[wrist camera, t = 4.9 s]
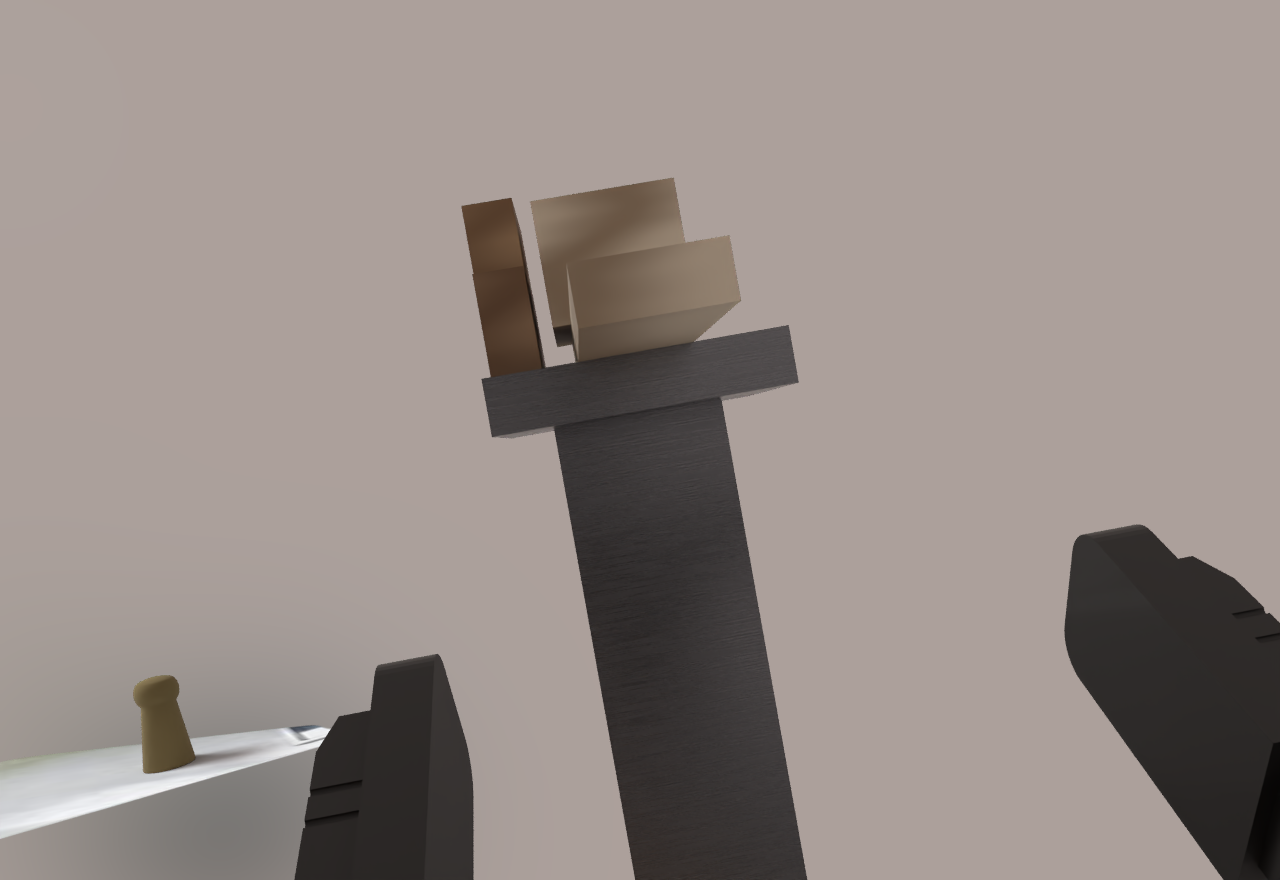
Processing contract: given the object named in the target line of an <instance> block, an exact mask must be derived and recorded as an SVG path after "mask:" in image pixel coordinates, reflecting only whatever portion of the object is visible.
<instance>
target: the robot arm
mask: <svg viewBox="0 0 1280 880" xmlns="http://www.w3.org/2000/svg"><path fill="white" fill-rule="evenodd" d="M1064 631H1065V641H1066V647H1067V651H1068V655H1069V658H1070V661H1071V663H1072V666H1073V668H1074V670H1075V672H1076V674H1077V676H1078V677H1079V679H1080V680H1081V682H1082V683H1083V684H1084V686H1085V687H1086V688H1087V690H1088V691H1089V693H1090V694H1091V695H1092V697H1093V698H1094V700H1095V701H1096V703H1097V704H1098V705H1099V707H1100V708H1101V709H1102V711H1103V712H1104V714H1105V715H1106V716H1107V718H1108V719H1109V721H1110V722H1111V723H1112V725H1113V726H1114V728H1115V729H1116V730H1117V732H1118V733H1119V734H1120V736H1121V737H1122V739H1123V740H1124V742H1125V743H1126V744H1127V746H1128V747H1129V749H1130V750H1131V751H1132V753H1133V754H1134V756H1135V757H1136V758H1137V760H1138V761H1139V762H1140V764H1141V765H1142V766H1143V768H1144V769H1145V771H1146V772H1147V774H1148V775H1149V777H1150V778H1151V779H1152V781H1153V782H1154V784H1155V785H1156V786H1157V788H1158V789H1159V791H1160V792H1161V793H1162V795H1163V796H1164V797H1165V799H1166V800H1167V802H1168V803H1169V804H1170V806H1171V807H1172V808H1173V810H1174V811H1175V813H1176V814H1177V816H1178V817H1179V818H1180V820H1181V821H1182V823H1183V824H1184V825H1185V827H1186V828H1187V830H1188V831H1189V832H1190V834H1191V835H1192V836H1193V838H1194V839H1195V841H1196V842H1197V844H1198V845H1199V846H1200V848H1201V849H1202V850H1203V852H1204V853H1205V855H1206V856H1207V857H1208V859H1209V860H1210V862H1211V863H1212V864H1213V866H1214V867H1215V869H1216V870H1217V871H1218V873H1219V874H1220V876H1221V877H1222V878H1223V880H1280V623H1279V622H1278V621H1277V620H1276V619H1275V618H1274V617H1273V616H1272V615H1271V614H1270V613H1268V614H1266V613H1265V611H1264V607H1263V606H1262V605H1261V604H1260V603H1259V602H1258V601H1257V600H1256V599H1255V598H1254V597H1253V596H1252V595H1251V594H1250V593H1249V592H1248V591H1247V590H1246V589H1245V588H1244V587H1243V586H1241V584H1240V583H1239V582H1237V581H1236V580H1235V579H1234V578H1233V577H1231V576H1229V575H1227V574H1225V573H1223V572H1221V571H1219V570H1218V569H1216V568H1214V567H1212V566H1210V565H1208V564H1206V563H1204V562H1202V561H1201V560H1199V559H1197V558H1195V557H1193V556H1191V557H1185V558H1180V559H1178V558H1177V557H1176V556H1175V555H1174V554H1173V553H1172V552H1171V551H1170V550H1169V549H1168V548H1167V547H1166V546H1165V545H1164V544H1163V543H1162V542H1161V541H1160V540H1159V539H1158V538H1157V537H1156V536H1155V535H1154V534H1153V532H1151V531H1150V530H1149V529H1148V528H1147V527H1145V526H1143V525H1132V526H1127V527H1121V528H1116V529H1111V530H1105V531H1100V532H1094V533H1090V534H1085V535H1081V536H1079V537H1078V538H1077V539H1076V541H1075V543H1074V546H1073V551H1072V562H1071V571H1070V581H1069V589H1068V599H1067V608H1066V618H1065V630H1064ZM471 772H472V771H471V764H470V758H469V753H468V748H467V744H466V740H465V736H464V733H463V729H462V726H461V723H460V719H459V716H458V712H457V709H456V706H455V702H454V699H453V695H452V692H451V689H450V685H449V682H448V678H447V675H446V671H445V668H444V665H443V662H442V660H441V657H440V656H439V655H438V654H435V655H430V656H424V657H419V658H413V659H408V660H403V661H397V662H392V663H387V664H381V665H378V666H377V668H376V671H375V676H374V685H373V694H372V702H371V710H370V711H365V712H360V713H354V714H350V715H344V716H339V717H338V719H337V721H336V722H335V724H334V725H333V727H332V728H331V730H330V731H329V733H328V734H327V736H326V738H325V739H324V741H323V742H322V744H321V745H320V747H319V749H318V750H317V752H316V755H315V761H314V767H313V773H312V779H311V786H310V793H311V796H310V797H309V798H308V804H307V809H306V815H305V828H303V832H302V839H301V844H300V850H299V856H298V862H297V868H296V874H295V880H473V781H472V773H471Z"/></svg>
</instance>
